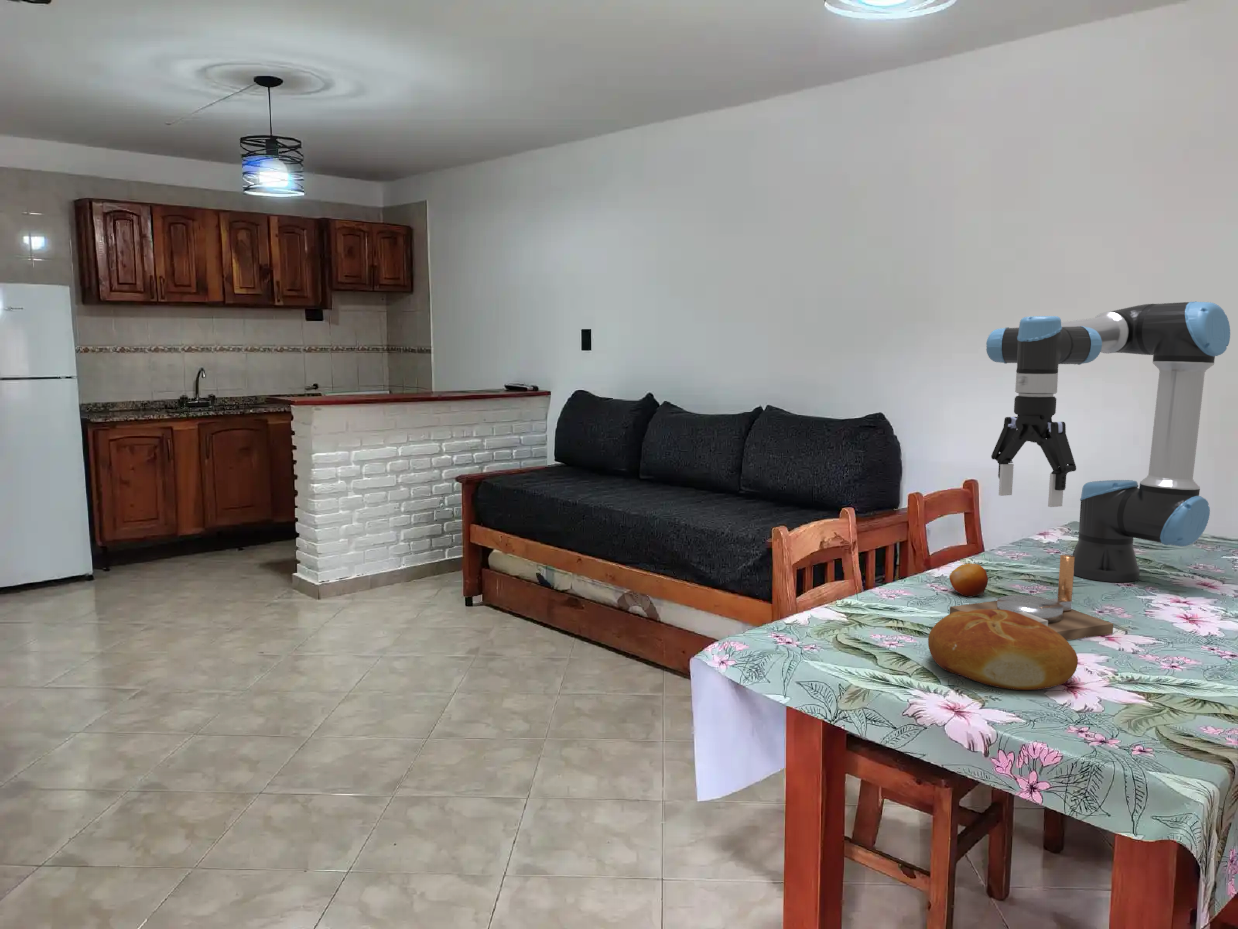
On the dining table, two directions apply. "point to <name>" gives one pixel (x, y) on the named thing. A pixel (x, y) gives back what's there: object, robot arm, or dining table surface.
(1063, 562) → the cam disc
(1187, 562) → the dining table surface
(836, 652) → the dining table surface
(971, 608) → the board
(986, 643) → the bread
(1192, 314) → the robot arm
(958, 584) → the fruit
